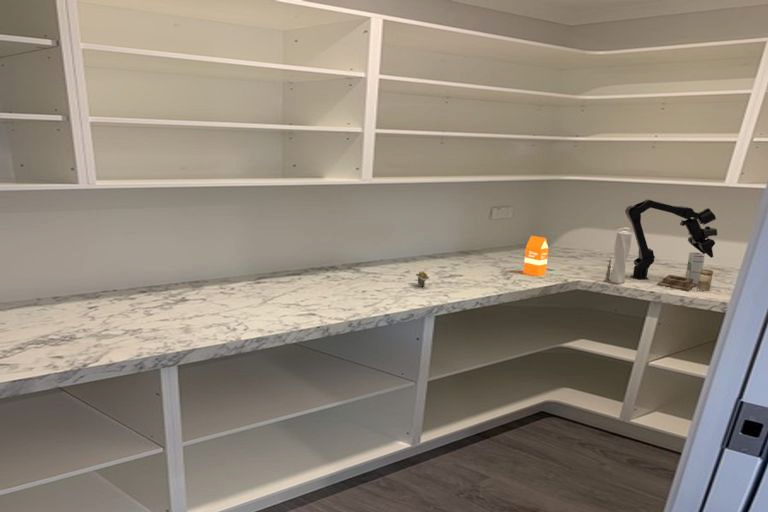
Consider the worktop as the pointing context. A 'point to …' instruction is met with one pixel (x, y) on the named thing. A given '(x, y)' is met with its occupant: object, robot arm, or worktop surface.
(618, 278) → the skyscraper
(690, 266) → the syrup box
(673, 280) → the walnut dock
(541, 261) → the orange juice
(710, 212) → the robot arm
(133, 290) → the worktop surface
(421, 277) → the olive brown upright piece
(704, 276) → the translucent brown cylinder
